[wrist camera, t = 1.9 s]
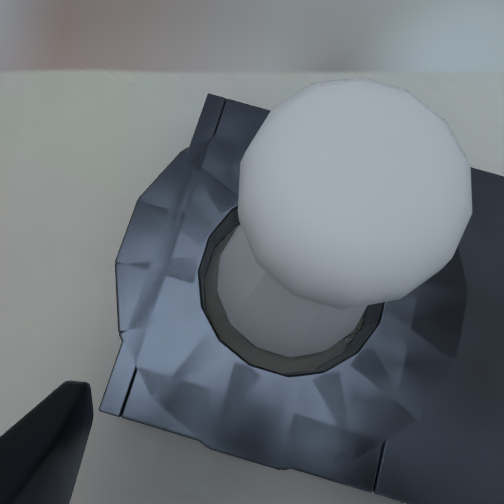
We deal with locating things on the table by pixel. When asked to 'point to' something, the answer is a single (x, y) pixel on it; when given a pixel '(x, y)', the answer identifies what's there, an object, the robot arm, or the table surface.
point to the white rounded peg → (340, 213)
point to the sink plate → (331, 373)
